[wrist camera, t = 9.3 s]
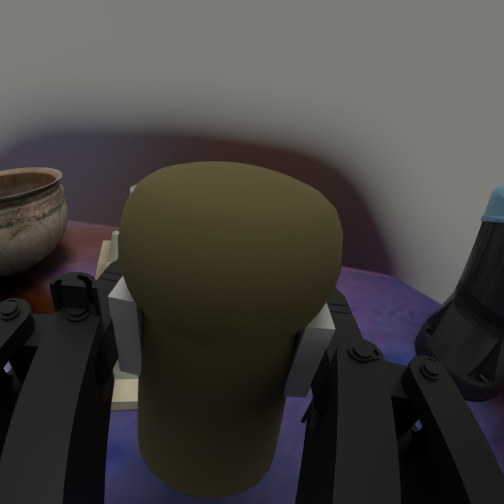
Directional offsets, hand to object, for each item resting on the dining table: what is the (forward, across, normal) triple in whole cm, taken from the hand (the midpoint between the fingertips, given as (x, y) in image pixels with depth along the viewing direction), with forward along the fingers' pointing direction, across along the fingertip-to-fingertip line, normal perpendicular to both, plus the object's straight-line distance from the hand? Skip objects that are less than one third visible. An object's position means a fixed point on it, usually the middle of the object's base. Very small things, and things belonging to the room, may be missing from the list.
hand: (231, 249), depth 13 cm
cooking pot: (+16, -31, -15) cm, 38 cm away
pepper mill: (-5, 0, -7) cm, 9 cm away
